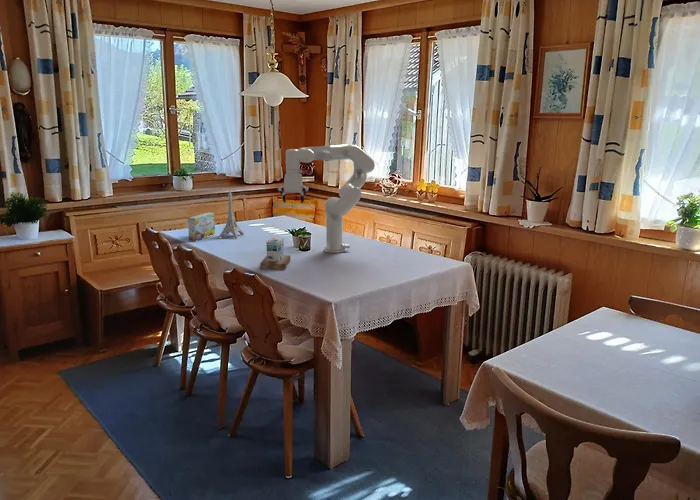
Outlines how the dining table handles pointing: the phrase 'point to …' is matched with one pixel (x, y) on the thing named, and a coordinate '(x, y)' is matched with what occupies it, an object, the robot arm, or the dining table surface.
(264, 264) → the podium
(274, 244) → the light bulb box
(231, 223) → the eiffel tower
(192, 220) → the snack box
